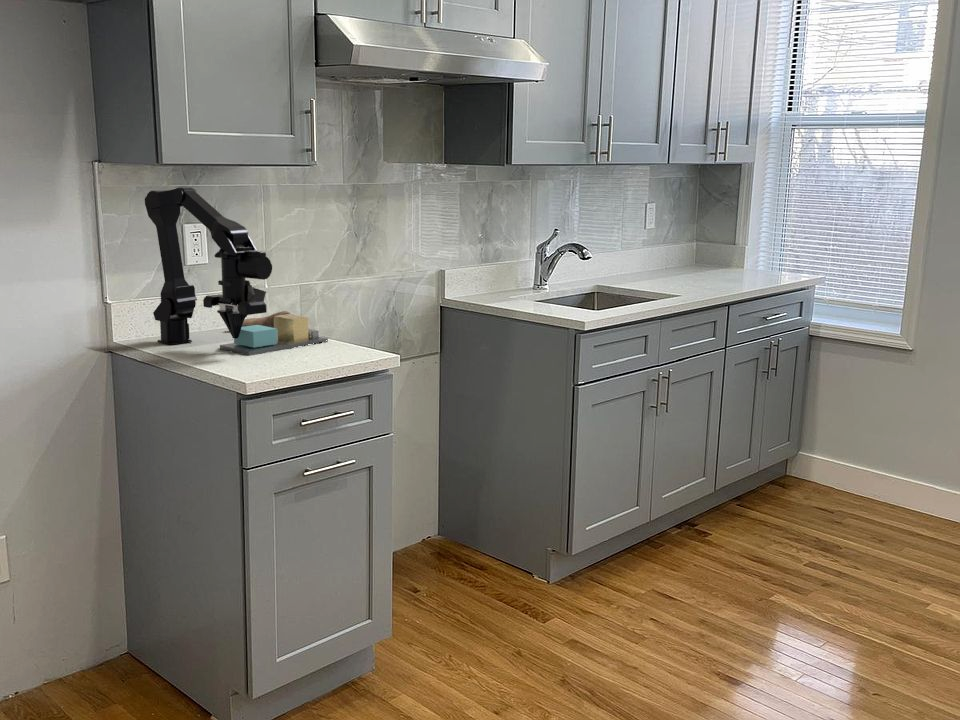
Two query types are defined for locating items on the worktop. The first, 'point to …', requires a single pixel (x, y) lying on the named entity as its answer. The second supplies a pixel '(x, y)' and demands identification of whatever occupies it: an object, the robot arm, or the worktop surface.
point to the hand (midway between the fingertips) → (235, 338)
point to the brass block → (291, 327)
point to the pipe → (263, 320)
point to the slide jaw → (257, 336)
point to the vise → (274, 345)
